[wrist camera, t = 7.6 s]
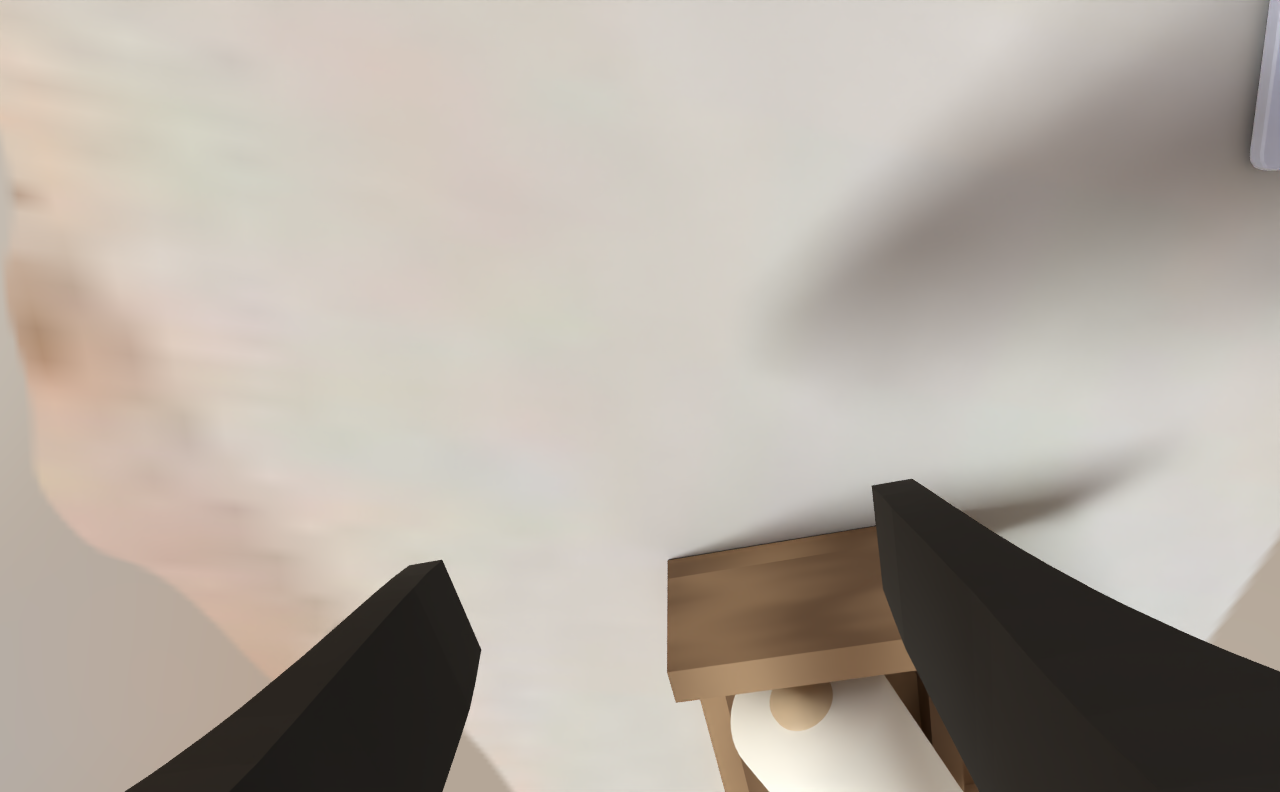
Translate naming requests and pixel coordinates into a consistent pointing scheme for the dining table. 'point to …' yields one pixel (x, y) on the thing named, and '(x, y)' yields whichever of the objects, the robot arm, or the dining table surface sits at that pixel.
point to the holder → (788, 635)
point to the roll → (836, 740)
